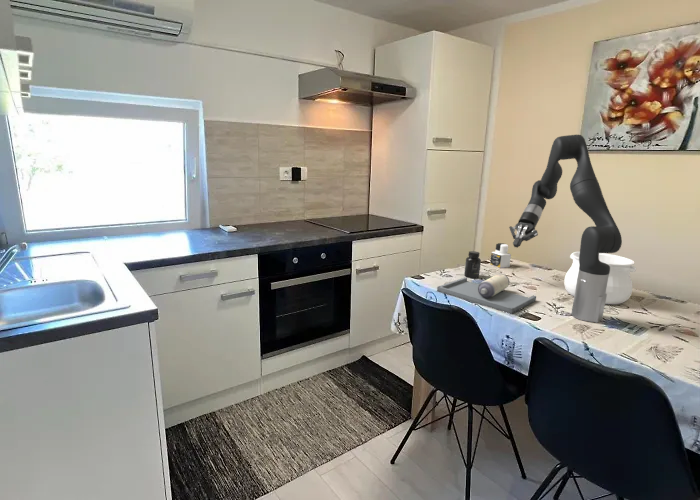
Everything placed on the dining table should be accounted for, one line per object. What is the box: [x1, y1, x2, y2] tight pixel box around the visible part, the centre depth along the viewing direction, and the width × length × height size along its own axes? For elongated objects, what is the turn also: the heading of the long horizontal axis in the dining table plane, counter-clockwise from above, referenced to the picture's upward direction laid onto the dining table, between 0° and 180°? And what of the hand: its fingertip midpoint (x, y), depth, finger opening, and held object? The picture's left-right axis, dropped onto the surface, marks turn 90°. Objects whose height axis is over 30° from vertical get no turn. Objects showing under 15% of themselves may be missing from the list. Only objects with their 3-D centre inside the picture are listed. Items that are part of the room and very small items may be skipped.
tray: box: [436, 276, 537, 315], centre depth 164 cm, size 32×22×2 cm
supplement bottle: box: [464, 250, 482, 279], centre depth 190 cm, size 7×7×12 cm
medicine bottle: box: [489, 242, 512, 269], centre depth 212 cm, size 7×7×12 cm
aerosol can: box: [478, 273, 510, 298], centre depth 164 cm, size 7×7×20 cm
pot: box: [563, 251, 637, 305], centre depth 168 cm, size 26×24×17 cm
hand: (515, 246), depth 176 cm, fingers closed
